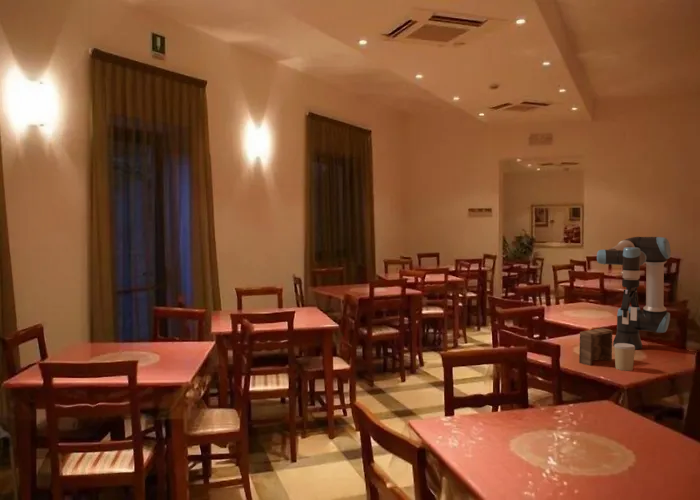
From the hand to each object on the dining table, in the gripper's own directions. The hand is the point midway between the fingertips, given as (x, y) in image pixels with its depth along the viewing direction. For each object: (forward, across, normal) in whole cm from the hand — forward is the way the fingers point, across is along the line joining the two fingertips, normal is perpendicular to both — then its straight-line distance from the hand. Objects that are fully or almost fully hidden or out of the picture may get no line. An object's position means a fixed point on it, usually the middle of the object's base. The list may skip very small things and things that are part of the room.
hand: (629, 322), depth 271 cm
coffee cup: (+24, -3, -3) cm, 25 cm away
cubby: (+24, -7, -18) cm, 31 cm away
